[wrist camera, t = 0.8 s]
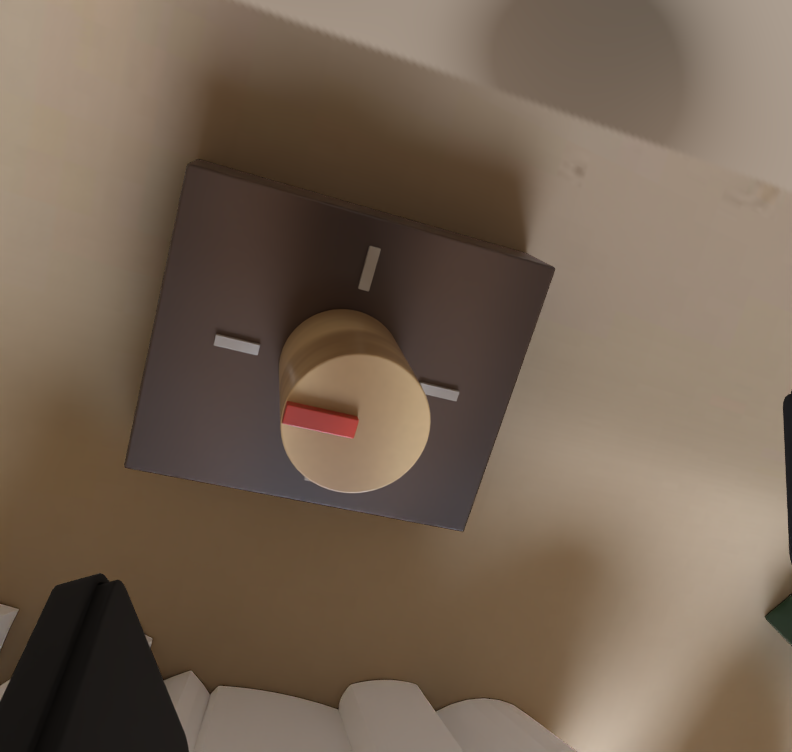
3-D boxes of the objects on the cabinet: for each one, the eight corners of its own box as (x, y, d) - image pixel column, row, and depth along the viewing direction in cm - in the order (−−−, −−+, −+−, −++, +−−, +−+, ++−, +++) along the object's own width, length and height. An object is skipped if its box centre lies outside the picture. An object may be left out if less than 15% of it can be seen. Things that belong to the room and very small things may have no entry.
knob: (415, 325, 25) (452, 376, 20) (382, 436, 26) (408, 511, 21) (296, 295, 24) (302, 340, 19) (265, 411, 25) (263, 483, 20)
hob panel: (527, 253, 28) (558, 268, 25) (446, 494, 30) (465, 535, 27) (196, 158, 25) (186, 162, 22) (138, 433, 27) (122, 470, 24)
